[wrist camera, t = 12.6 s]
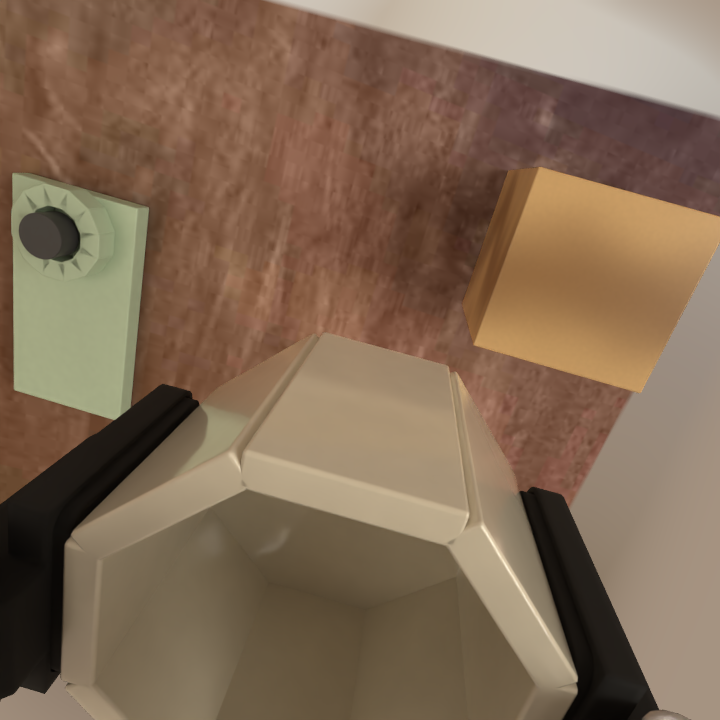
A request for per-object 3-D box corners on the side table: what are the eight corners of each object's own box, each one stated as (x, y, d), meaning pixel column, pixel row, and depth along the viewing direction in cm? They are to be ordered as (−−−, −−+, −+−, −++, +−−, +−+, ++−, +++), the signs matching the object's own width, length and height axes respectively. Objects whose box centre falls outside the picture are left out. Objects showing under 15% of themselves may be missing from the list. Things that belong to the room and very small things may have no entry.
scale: (29, 168, 31) (-11, 167, 28) (150, 203, 31) (122, 205, 28) (28, 382, 36) (-6, 399, 34) (130, 413, 36) (105, 432, 33)
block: (508, 169, 27) (539, 166, 20) (648, 208, 27) (732, 220, 20) (461, 304, 30) (472, 345, 23) (587, 340, 30) (640, 394, 23)
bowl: (225, 304, 9) (65, 400, 5) (550, 392, 9) (657, 566, 5) (187, 558, 12) (55, 767, 7) (448, 632, 12) (462, 891, 7)
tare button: (38, 205, 29) (18, 207, 27) (80, 217, 29) (62, 219, 27) (38, 249, 30) (18, 252, 28) (78, 260, 30) (60, 265, 28)
